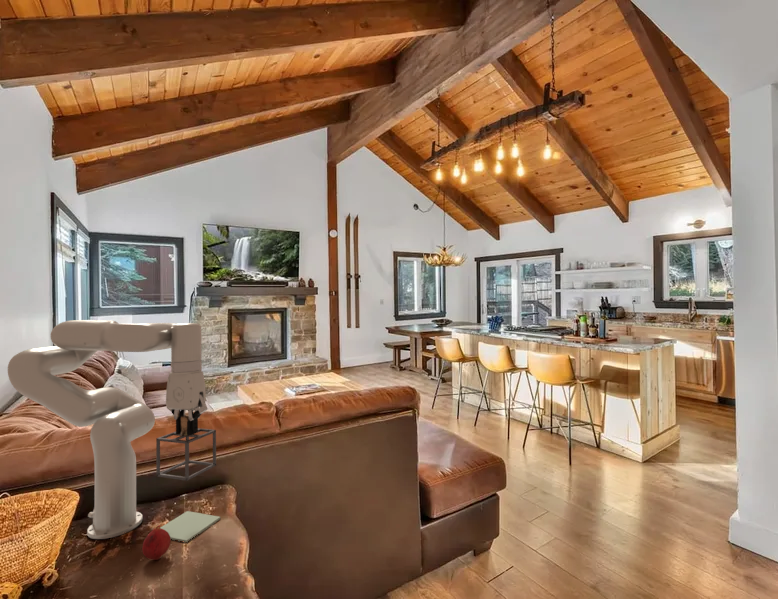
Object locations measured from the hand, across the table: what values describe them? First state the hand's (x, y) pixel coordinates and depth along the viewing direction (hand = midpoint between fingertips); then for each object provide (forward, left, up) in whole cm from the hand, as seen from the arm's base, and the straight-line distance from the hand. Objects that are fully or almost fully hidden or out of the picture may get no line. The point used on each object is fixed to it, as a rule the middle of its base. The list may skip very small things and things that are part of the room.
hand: (187, 432), depth 108 cm
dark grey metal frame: (0, 0, -10) cm, 10 cm away
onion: (+4, -14, -26) cm, 30 cm away
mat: (0, 0, -26) cm, 26 cm away
